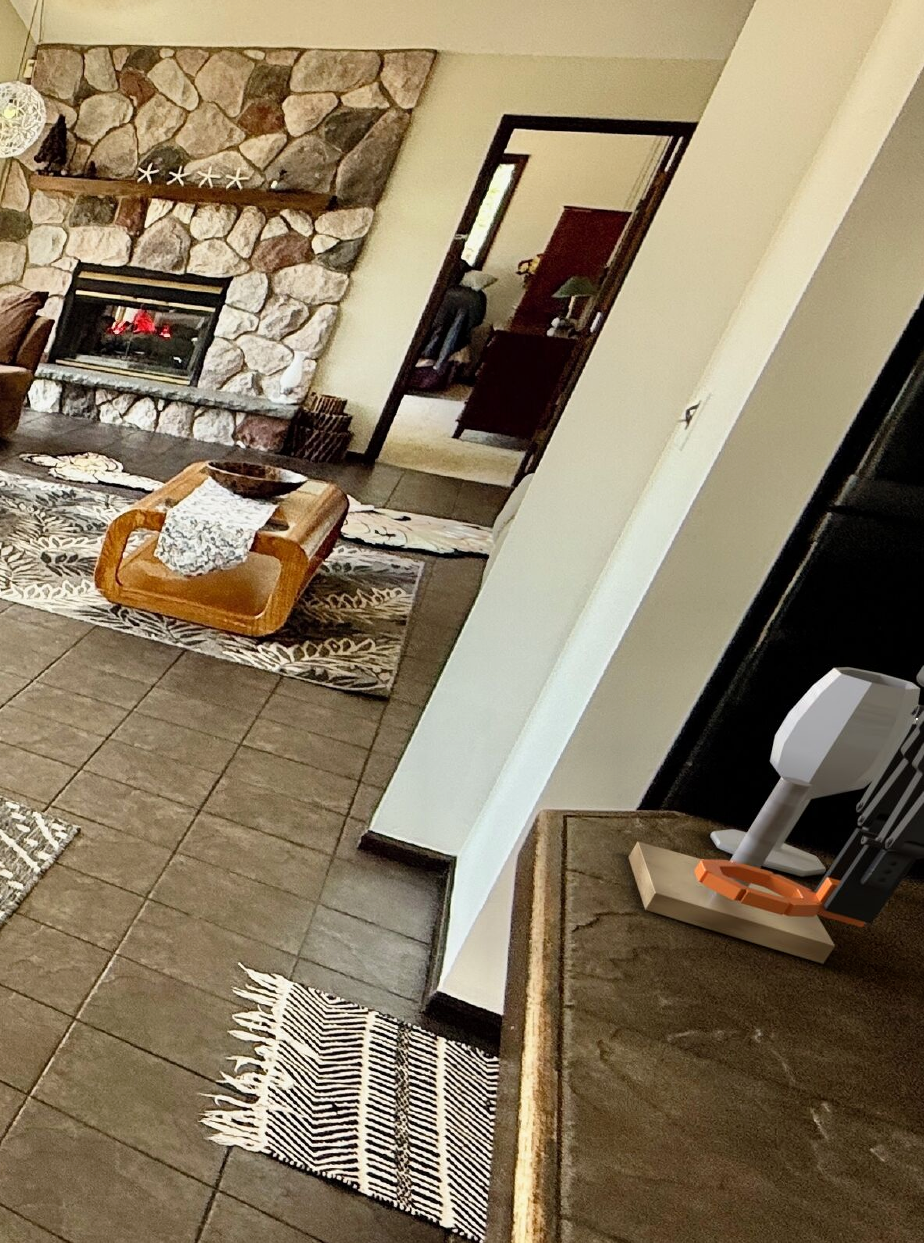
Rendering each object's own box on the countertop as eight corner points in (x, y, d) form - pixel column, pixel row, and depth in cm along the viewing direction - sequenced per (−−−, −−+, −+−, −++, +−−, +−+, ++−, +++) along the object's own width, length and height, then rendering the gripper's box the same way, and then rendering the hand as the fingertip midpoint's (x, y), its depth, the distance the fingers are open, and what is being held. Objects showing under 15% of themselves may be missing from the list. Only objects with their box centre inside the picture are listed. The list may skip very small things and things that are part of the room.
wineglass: (829, 865, 125) (947, 686, 116) (815, 886, 120) (937, 701, 111) (716, 828, 131) (821, 656, 123) (699, 847, 126) (806, 669, 118)
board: (789, 903, 116) (870, 780, 110) (823, 964, 106) (913, 831, 100) (628, 857, 123) (696, 738, 117) (644, 909, 113) (720, 782, 107)
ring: (849, 907, 102) (869, 878, 100) (871, 942, 96) (892, 911, 95) (689, 861, 107) (706, 833, 106) (702, 892, 102) (720, 863, 101)
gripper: (914, 618, 98) (761, 857, 107) (976, 663, 86) (799, 926, 96) (1052, 643, 94) (881, 890, 103) (1137, 694, 82) (935, 966, 92)
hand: (842, 907), depth 99 cm, fingers closed on ring, 3 cm apart
